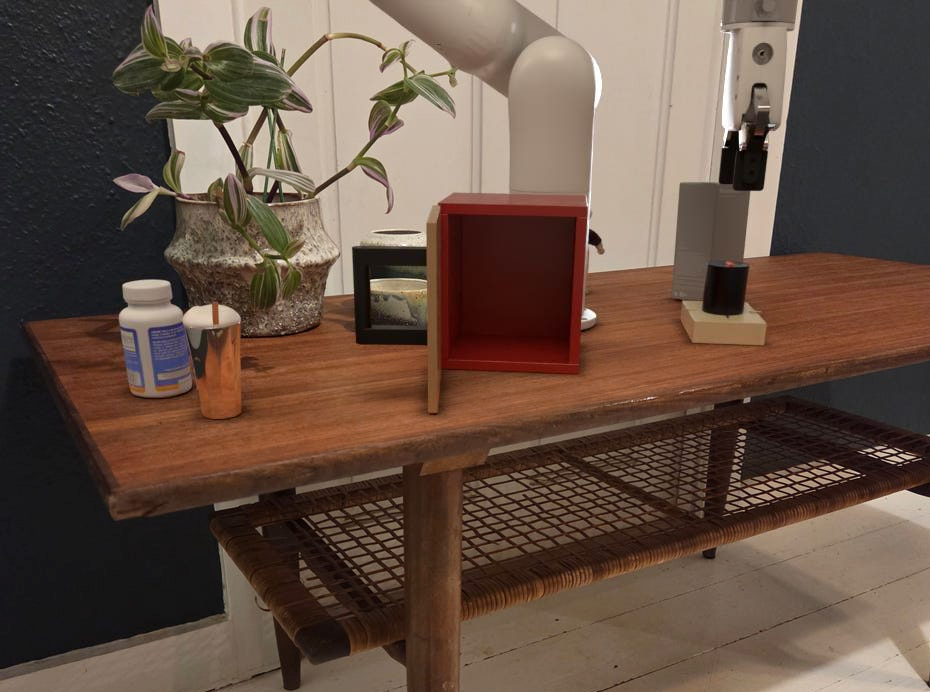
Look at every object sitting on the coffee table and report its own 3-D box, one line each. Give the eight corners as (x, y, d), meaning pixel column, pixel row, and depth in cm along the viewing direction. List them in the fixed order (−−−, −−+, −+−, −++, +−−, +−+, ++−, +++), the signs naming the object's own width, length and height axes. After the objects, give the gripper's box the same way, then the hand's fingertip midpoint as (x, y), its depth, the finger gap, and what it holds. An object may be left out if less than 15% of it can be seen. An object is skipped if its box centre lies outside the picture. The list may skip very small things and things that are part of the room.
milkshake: (198, 427, 71) (184, 304, 67) (190, 408, 76) (176, 291, 72) (255, 421, 73) (244, 300, 69) (244, 403, 77) (233, 288, 74)
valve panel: (676, 320, 111) (678, 299, 110) (748, 322, 110) (751, 301, 109) (687, 342, 100) (690, 319, 99) (768, 345, 99) (771, 322, 98)
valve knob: (699, 306, 107) (704, 257, 104) (739, 307, 106) (745, 258, 104) (704, 314, 102) (710, 263, 100) (746, 315, 102) (753, 264, 100)
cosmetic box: (707, 306, 119) (721, 183, 113) (665, 298, 124) (676, 180, 118) (742, 299, 125) (757, 181, 119) (700, 291, 130) (713, 178, 123)
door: (355, 412, 75) (346, 221, 69) (371, 368, 88) (365, 204, 82) (437, 413, 75) (436, 222, 69) (441, 369, 88) (440, 205, 82)
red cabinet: (578, 374, 87) (588, 206, 81) (438, 368, 89) (437, 202, 82) (577, 345, 98) (586, 195, 92) (453, 340, 100) (453, 192, 93)
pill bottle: (199, 382, 83) (187, 278, 79) (183, 399, 78) (169, 289, 74) (140, 382, 83) (126, 277, 79) (121, 399, 78) (104, 288, 74)
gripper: (816, 6, 84) (791, 194, 91) (777, 23, 100) (758, 182, 107) (736, 6, 85) (717, 193, 91) (710, 24, 101) (695, 181, 107)
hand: (739, 187), depth 99 cm, fingers open, 9 cm apart
